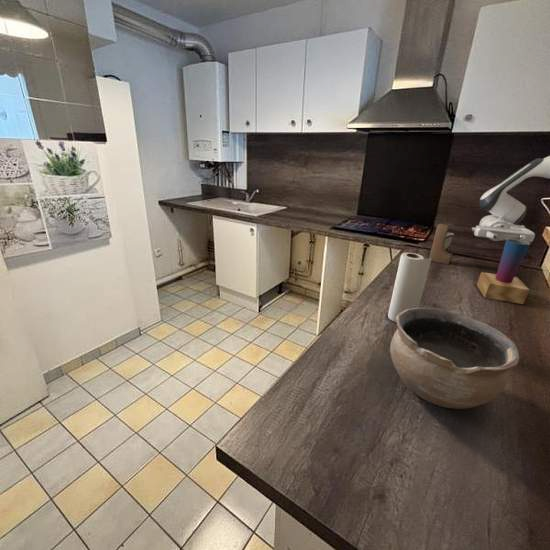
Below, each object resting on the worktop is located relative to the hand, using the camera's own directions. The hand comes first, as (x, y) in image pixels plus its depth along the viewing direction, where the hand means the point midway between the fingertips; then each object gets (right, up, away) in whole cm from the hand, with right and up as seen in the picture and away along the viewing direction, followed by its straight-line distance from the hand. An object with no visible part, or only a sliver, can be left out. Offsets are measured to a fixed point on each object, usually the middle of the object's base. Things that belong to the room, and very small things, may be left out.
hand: (508, 238), depth 115 cm
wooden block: (-12, -8, +28) cm, 32 cm away
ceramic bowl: (-56, -40, -49) cm, 85 cm away
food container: (-3, -2, +43) cm, 43 cm away
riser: (-7, -22, -4) cm, 23 cm away
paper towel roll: (-53, -29, -23) cm, 65 cm away
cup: (-7, -17, -6) cm, 19 cm away
